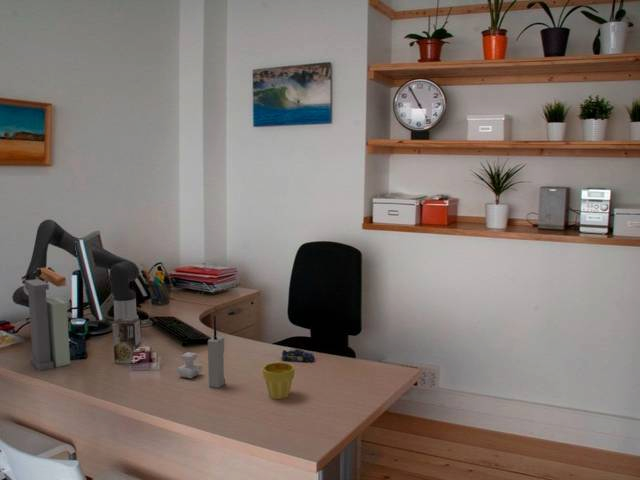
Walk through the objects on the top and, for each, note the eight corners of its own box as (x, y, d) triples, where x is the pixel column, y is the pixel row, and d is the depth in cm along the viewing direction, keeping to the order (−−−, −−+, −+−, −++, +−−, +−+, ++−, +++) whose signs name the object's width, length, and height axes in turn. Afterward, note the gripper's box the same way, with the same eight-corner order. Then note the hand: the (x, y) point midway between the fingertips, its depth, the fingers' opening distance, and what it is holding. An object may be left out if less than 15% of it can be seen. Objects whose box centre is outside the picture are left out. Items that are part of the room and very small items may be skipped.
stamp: (205, 375, 223) (204, 353, 222) (193, 381, 217) (193, 358, 216) (185, 371, 227) (185, 349, 226) (173, 377, 221) (173, 354, 220)
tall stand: (43, 359, 240) (38, 279, 235) (53, 367, 231) (48, 284, 226) (30, 362, 237) (24, 280, 232) (39, 370, 228) (34, 286, 223)
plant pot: (282, 404, 198) (282, 374, 196) (257, 397, 203) (256, 368, 202) (300, 393, 207) (300, 365, 205) (275, 387, 212) (275, 359, 211)
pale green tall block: (59, 356, 244) (56, 297, 240) (70, 364, 235) (66, 302, 231) (46, 358, 241) (42, 299, 237) (56, 367, 232) (52, 304, 228)
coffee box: (143, 358, 241) (141, 318, 239) (136, 364, 235) (135, 323, 233) (120, 357, 242) (118, 318, 240) (113, 363, 236) (111, 322, 233)
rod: (45, 274, 245) (45, 267, 244) (66, 285, 227) (65, 277, 226) (37, 275, 243) (37, 268, 242) (57, 286, 225) (57, 278, 224)
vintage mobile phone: (225, 383, 215) (223, 314, 212) (218, 388, 211) (216, 317, 207) (215, 382, 217) (214, 313, 213) (208, 387, 212) (207, 316, 208)
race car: (319, 358, 243) (319, 347, 242) (318, 364, 236) (318, 353, 236) (281, 357, 244) (281, 346, 243) (279, 363, 237) (279, 352, 236)
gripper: (14, 278, 248) (24, 263, 236) (51, 274, 257) (61, 259, 245) (18, 296, 247) (27, 281, 234) (54, 291, 256) (65, 276, 243)
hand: (45, 270), depth 240 cm, fingers closed on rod, 3 cm apart
